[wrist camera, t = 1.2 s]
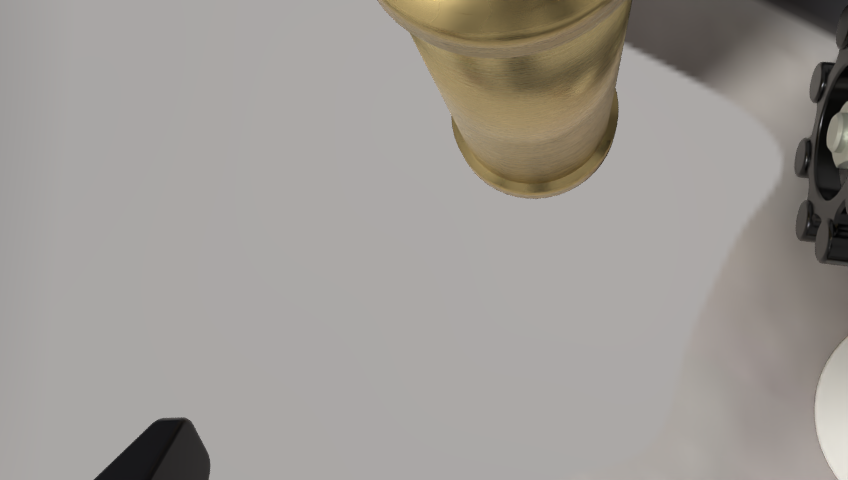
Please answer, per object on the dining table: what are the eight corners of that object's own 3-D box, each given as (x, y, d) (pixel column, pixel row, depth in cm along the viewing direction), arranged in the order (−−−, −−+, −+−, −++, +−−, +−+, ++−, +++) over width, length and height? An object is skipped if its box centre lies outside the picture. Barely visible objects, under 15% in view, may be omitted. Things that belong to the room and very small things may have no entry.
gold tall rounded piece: (583, 220, 23) (604, 77, 10) (433, 168, 24) (287, -20, 12) (639, 70, 23) (725, -248, 11) (488, 25, 24) (405, -314, 12)
